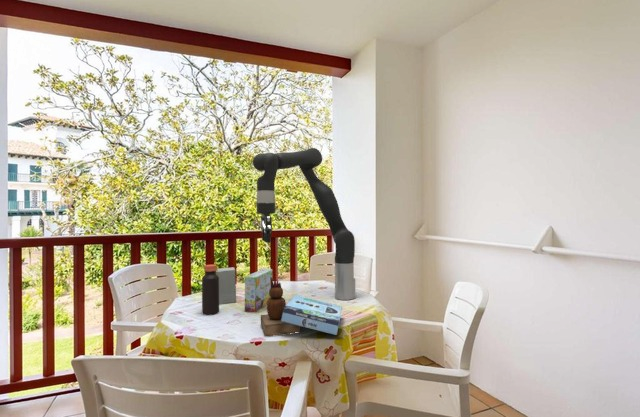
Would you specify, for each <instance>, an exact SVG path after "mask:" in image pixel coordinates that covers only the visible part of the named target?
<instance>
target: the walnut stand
mask: <svg viewBox="0 0 640 417" xmlns="http://www.w3.org/2000/svg"><path fill="white" fill-rule="evenodd" d="M281 319H282V318H281ZM281 319H277V320H275V319H271V318H270V317H269V316H268V313H267V314H261V315H260V327H261V330H262V332H263V335H264V336H269V337H273V335H278V336H284V335H283V334H286V335H291V334H290V333H295V332H300V331H301V326H299V325H295V324H291V323H287V322H283V321H281ZM295 334H296V333H295Z"/></svg>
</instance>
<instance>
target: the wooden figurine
mask: <svg viewBox="0 0 640 417" xmlns="http://www.w3.org/2000/svg"><path fill="white" fill-rule="evenodd" d="M270 280H271V288H270V290H269V295H270V297H271V298H269V299H268V300H267V304H266V313H267V314H268V316H269V317H270V318H271V319H275V320H277V319H281V318H282V314H283V310H284V307H285V306H286V305H287V303H286V299H285V298H284V297H283V294H284V290H283V288H282V284H281V282H279V280H276V277H274V280H273V276H272V277H270Z"/></svg>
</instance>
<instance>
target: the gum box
mask: <svg viewBox="0 0 640 417" xmlns="http://www.w3.org/2000/svg"><path fill="white" fill-rule="evenodd" d="M342 310H343V306H342V305H337V304H333V303H329V302H326V301H321V300H316V299H313V298H308V297H305V296H301V295H297V294H295V295H294V296H293V297H292V298H291V300H289V302H288V303H286V306H285V307H284V310H283V314H282V319H281V321H283V322H287V323H291V324H295V325H299V326H300V327H303V328H307V329H310V330H311V329H312V330H316V331H318V332H322V333H327V334H331V335H335V336H337V335H338V330H339V326H340V321H341V314H342Z"/></svg>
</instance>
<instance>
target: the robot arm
mask: <svg viewBox="0 0 640 417" xmlns="http://www.w3.org/2000/svg"><path fill="white" fill-rule="evenodd" d="M322 162H323V155H322V153H321V151H320V150H319V149H317V148H315V147H310V148H308V149H305V150H299V151H292V152H291V151H290V152H277V153H275V152H274V153H273V152H265V153H258V154H257V155H255V156H253V160H252V165H253V167H254V169H255V170H257V171H260V172H263V174H262V175H261V176H259V177H258V178H257V180H256V186H257V187H256V188H257V191H256V213H257V214H259V215H260V231H261V240H262V242H265V243H266V244H268V243H269V244H270V243H272V242H271V241H272V240H271V238H272V237H271V234H272V232H273V224H272V223H273V222H272V221H273V217H272V216H271V215H272V214H273V215H275V214H276V194H275V191H276V190H275V180H276V177H277V174H278V170H285V169H287V170H288V169H292V168H294V167H299V169H300V171H301V172H302V175H303V176H304V178H305V180H306V181H307V183H308V185H309V187H310V189H311V192H312V194H313V196H314V199H315V201H316V204H317V206H318V208H319V211H320V212H321V214H322V215H323V217H324V219H325V221H326V223H327V225H328V228H329V230H330V232H331V235H332V239H333V242H334V245H335V255H334V298H335V300H341V301H350V299H351V300H354V299H356V297H357V296H356V294H357V292H356V278H355V276H354V274H355V272H354V271H355V270H354V269H355V268H354V267H355V266H354V264H355V263H354V260H355V251H356V250H355V248H356V243H355V240H356V239H355V236H354V233H353V232H352V231H350V230H348V228H347V227H346V225H345V222H344V221H343V217H342V215H341V212H340V211H341V210H340V207H339V203H338V201H337V198H336V196H335V192H334V191H333V189H332V188H331V187H330V186H329V185H327V184H326V183H324V181H322V180H321V179H320V178H319V177H318V176H317V175H316V173H315V171H314V169H315V168H316V167H318V166H320V165H321V163H322ZM353 298H354V299H353Z"/></svg>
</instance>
